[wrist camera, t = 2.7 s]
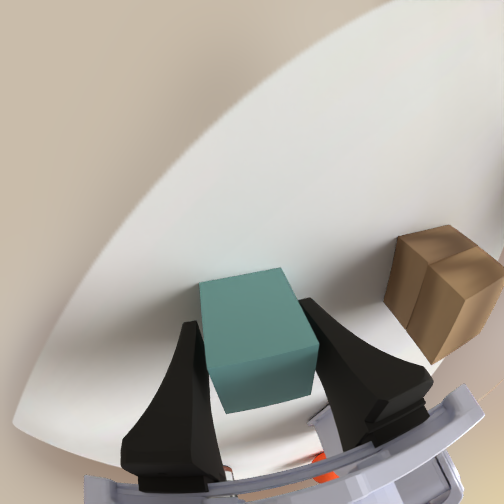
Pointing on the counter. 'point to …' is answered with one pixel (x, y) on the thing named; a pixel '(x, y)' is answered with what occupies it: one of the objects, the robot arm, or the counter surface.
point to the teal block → (256, 340)
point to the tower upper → (455, 302)
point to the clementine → (326, 476)
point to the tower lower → (419, 265)
